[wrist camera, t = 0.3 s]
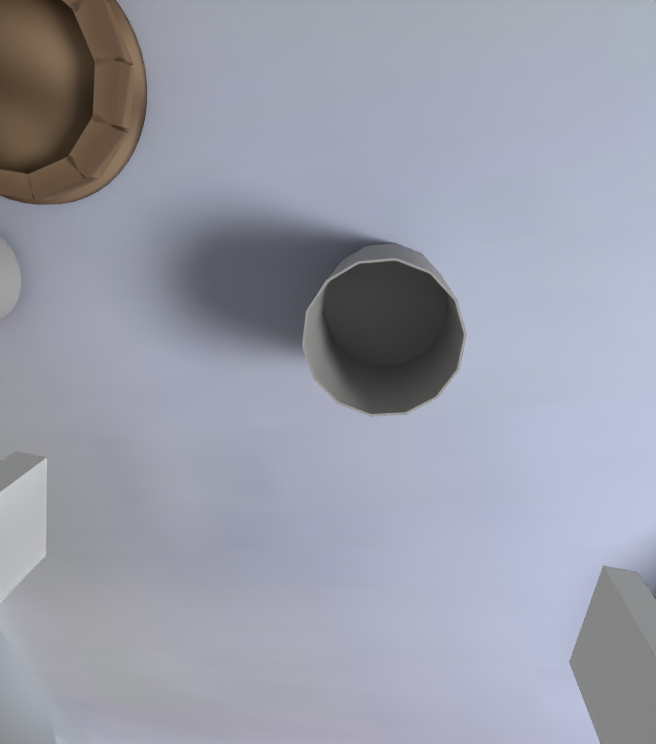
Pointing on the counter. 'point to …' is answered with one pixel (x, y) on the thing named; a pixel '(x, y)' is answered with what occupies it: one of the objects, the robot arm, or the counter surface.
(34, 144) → the tray
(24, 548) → the robot arm
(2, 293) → the can
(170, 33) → the counter surface
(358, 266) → the cup
